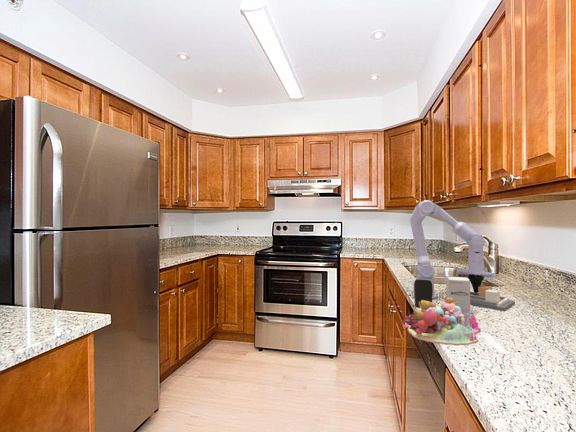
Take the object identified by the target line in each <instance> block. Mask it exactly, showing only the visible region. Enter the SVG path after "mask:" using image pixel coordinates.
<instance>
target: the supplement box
mask: <svg viewBox="0 0 576 432" xmlns="http://www.w3.org/2000/svg"><path fill="white" fill-rule="evenodd" d="M445 281H446V283H445V284H446V291H445V292H446V293H445V295H446V297H445V299H446V298H453V299H454V302H457V306H459V307H460V308H461V311H462V314H463V312H464V310H465V307H466V308H467V310H466V312H467V313H468V312H469V307H470V308H471V305H470V292H471V282H470V280H469V279H468V277H466V276H465V277H464V276H463V277H461V276H448V275H447V276H446V279H445Z"/></svg>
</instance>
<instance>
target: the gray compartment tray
mask: <svg viewBox="0 0 576 432" xmlns="http://www.w3.org/2000/svg"><path fill="white" fill-rule="evenodd" d="M514 305H516V301H515V300H511V299H510V297H505V296H500V302H498V303H495V302H490V301H485V297H482V296H479V292H478V293H474V291H470V306H475V307H480V308H485V309H492V310H495V311H502V312H505V311H507V310H508V309H510V308H511V307H513V306H514Z"/></svg>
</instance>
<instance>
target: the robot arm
mask: <svg viewBox="0 0 576 432" xmlns="http://www.w3.org/2000/svg"><path fill="white" fill-rule="evenodd" d="M429 215H431V216H436V217H439V218H440V219H441V220H442V221H443V222H445V223H446V224H447V225H449V226H450V227H452V232H453V233H455V234H456V235H457V236H458V237H459V238H461V239H462V240H463V241H465V242H466V244H467V245H468V251H467V256H468V258H467V259H468V262H467V263H468V269H461V268H459V269H457V275H465V276H467V279H469V280H470V285H471V287H472V290H473V291H472V292H474V293H479V292H478V287H479V286H481V285H482V282H483V281H484V279H485V278H489V279H490V278H491V279H496V277H497V275H496V273H495V272H489V271H485V269H484V267H485V265H484V263H485V262H484V246H486V240H485V237H483V235H480V234H478V231H477V230H473V228H471V227H470V226H469V224H468V223H467V222H463V221H457V219H455V218H453V217H452V215H451V214H449V213H448V212H447V211H446V210H444V209H443V208H442V207H441V206H439V205H438V204H436V203H434V202H433V201H431V200H429V199H424V200H422V201H420V202H419V203H417V205H416V206H415V207H414V210H413V211H412V214H411V216H410V218H409V221H410V228H411V233H412V237H413V243H414V246H415V252H416V259H417V260H416V261H417V265H416V270H417V272H418V273H417V275H416V279H417V278H423V279H430V280H431V281H432V284H433V298H432V300H433V299H435V298H437V297H439V295H437V294H435V276H434V274H435V269H434V267H433V266H432V263H431V260H430V257H429V254H428V253H429V252H428V247H427V244H426V238H425V233H424V229H423V224H422V223H423V222H424V220H425V218H426V217H427V216H429ZM412 287H413V289H414V283H413V285H412ZM411 298H415V297H414V294H413V295H411Z"/></svg>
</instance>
